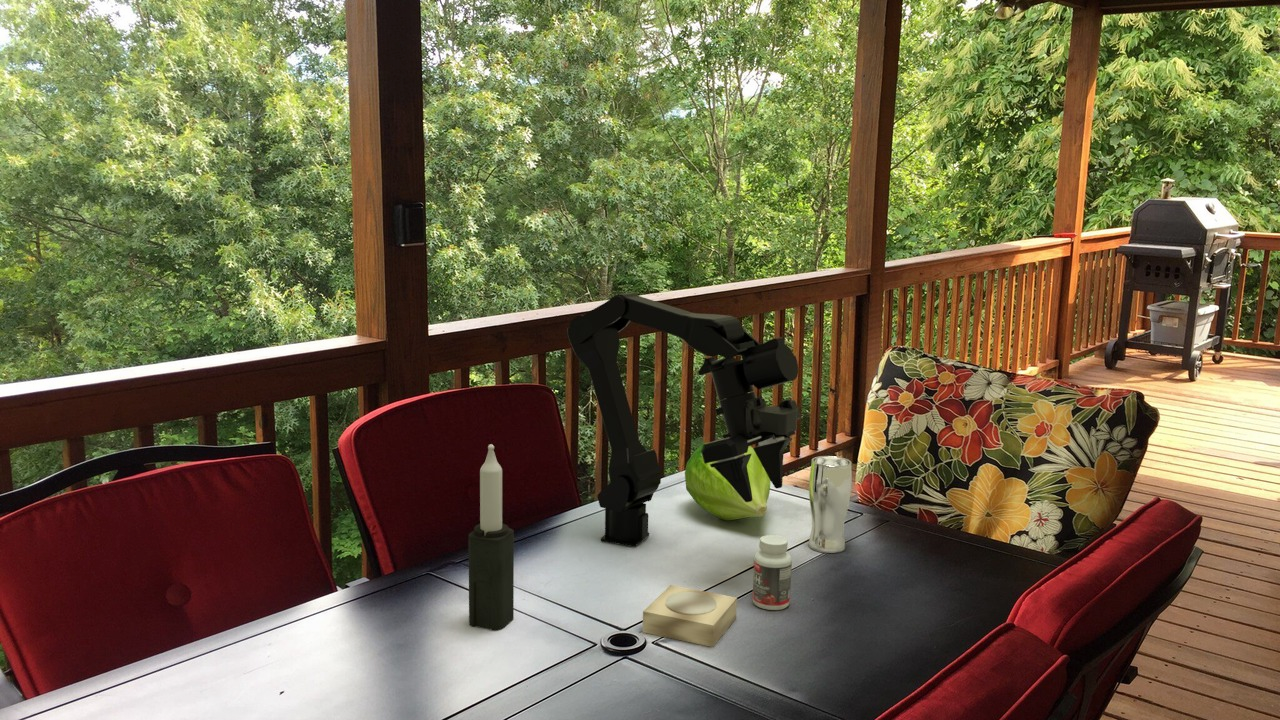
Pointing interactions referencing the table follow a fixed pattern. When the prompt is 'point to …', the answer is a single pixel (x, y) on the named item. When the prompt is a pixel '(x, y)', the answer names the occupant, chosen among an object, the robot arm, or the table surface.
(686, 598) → the pedestal
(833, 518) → the beer glass
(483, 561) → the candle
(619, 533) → the robot arm
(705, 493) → the lettuce
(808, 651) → the table surface
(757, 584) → the pill bottle
